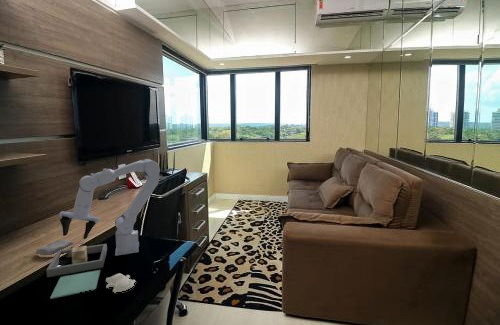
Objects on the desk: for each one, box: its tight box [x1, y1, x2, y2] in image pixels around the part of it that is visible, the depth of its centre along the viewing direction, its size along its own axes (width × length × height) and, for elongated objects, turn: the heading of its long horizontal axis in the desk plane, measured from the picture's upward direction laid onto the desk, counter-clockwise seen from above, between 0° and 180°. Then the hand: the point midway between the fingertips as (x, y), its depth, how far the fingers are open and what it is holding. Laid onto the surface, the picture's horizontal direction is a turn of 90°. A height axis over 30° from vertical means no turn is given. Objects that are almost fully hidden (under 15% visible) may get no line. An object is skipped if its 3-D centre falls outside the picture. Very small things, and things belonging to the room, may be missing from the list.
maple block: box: [71, 245, 88, 264], centre depth 108 cm, size 4×4×6 cm
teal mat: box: [49, 269, 101, 300], centre depth 93 cm, size 13×13×1 cm
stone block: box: [35, 239, 74, 255], centre depth 117 cm, size 12×5×10 cm
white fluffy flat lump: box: [105, 272, 137, 294], centre depth 93 cm, size 9×12×3 cm
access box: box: [46, 243, 108, 278], centre depth 108 cm, size 18×16×3 cm
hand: (75, 236), depth 106 cm, fingers open, 7 cm apart
